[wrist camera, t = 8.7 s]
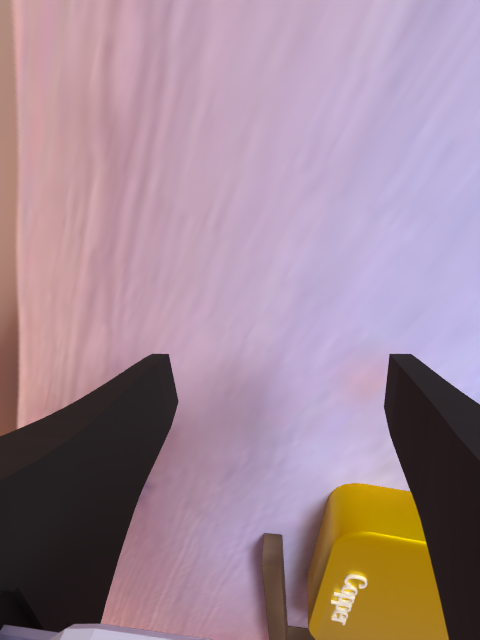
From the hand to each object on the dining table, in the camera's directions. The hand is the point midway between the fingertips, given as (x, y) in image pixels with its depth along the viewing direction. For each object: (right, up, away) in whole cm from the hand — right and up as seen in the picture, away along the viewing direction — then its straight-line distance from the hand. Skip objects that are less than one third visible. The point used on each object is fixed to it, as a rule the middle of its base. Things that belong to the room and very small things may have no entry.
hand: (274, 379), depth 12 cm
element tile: (+13, -17, +18) cm, 28 cm away
